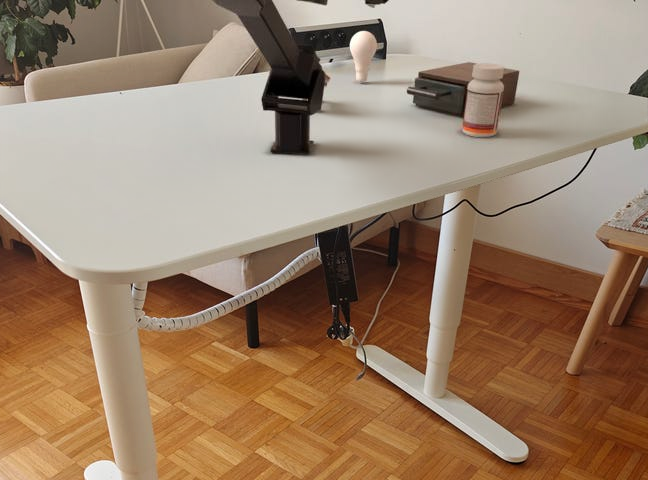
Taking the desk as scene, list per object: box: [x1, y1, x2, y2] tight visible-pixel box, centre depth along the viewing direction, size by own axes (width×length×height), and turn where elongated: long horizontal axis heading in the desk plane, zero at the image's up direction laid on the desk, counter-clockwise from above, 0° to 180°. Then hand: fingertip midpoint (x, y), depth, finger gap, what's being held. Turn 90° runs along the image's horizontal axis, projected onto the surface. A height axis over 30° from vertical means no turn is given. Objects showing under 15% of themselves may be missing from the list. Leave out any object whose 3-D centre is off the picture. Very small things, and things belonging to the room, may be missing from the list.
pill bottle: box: [461, 62, 505, 138], centre depth 120 cm, size 6×6×11 cm
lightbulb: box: [349, 30, 378, 84], centre depth 156 cm, size 6×6×11 cm
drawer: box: [406, 76, 467, 113], centre depth 136 cm, size 20×11×5 cm, turn 132°
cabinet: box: [415, 61, 520, 118], centre depth 139 cm, size 17×13×7 cm
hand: (350, 3), depth 125 cm, fingers open, 9 cm apart
